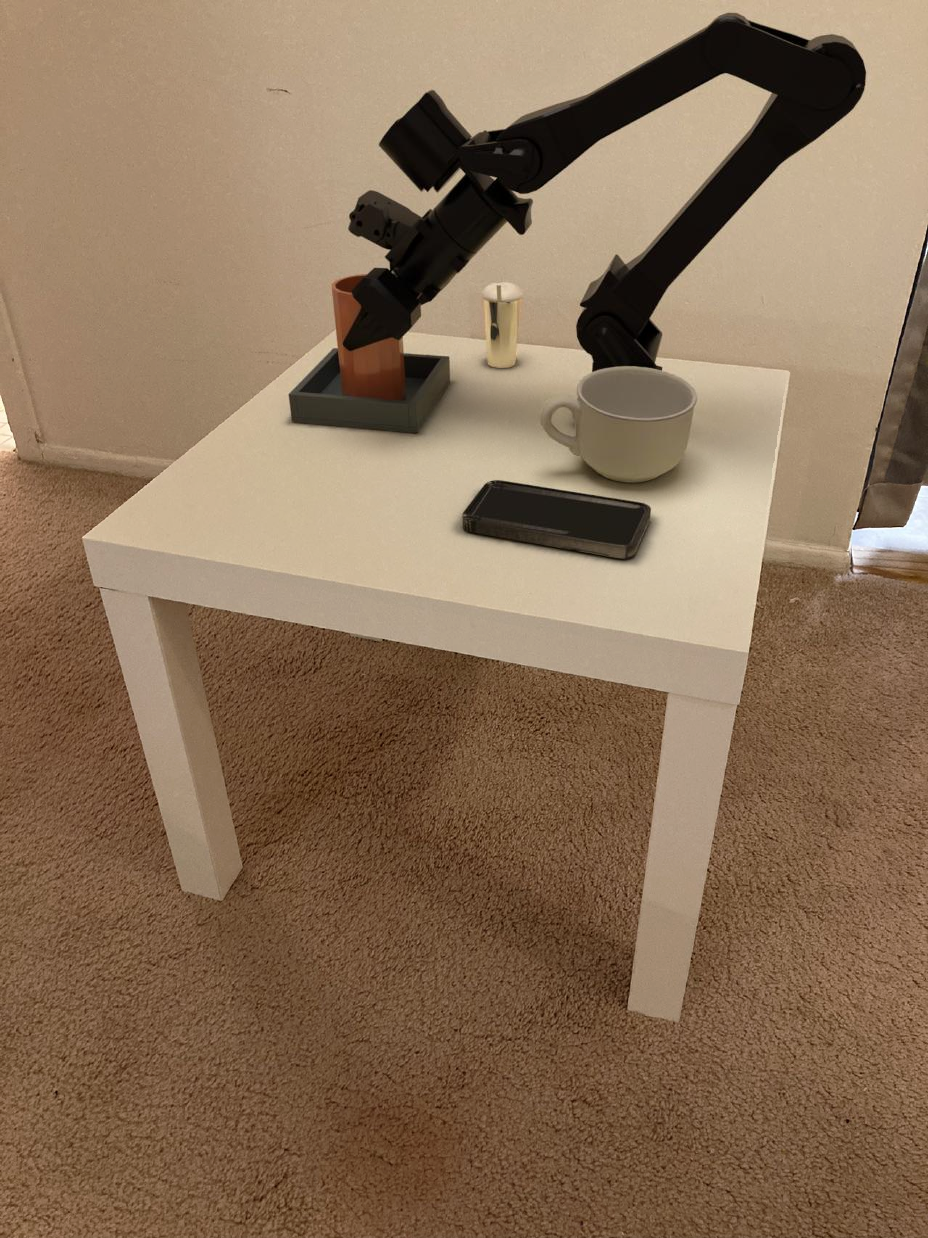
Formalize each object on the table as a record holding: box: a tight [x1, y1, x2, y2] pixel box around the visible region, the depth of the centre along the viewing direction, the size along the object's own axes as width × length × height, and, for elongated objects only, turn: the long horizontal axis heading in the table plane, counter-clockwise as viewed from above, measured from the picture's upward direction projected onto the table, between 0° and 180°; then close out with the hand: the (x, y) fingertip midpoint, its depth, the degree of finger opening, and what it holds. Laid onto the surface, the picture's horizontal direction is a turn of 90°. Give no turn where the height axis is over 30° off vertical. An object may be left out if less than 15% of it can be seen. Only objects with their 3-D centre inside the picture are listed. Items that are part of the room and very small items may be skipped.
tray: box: [288, 347, 451, 434], centre depth 106 cm, size 14×14×3 cm
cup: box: [331, 273, 406, 400], centre depth 103 cm, size 7×7×12 cm
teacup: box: [539, 366, 698, 484], centre depth 91 cm, size 14×11×8 cm
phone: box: [462, 479, 652, 559], centre depth 84 cm, size 8×1×15 cm
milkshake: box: [481, 281, 523, 369], centre depth 112 cm, size 4×5×10 cm
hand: (357, 335), depth 103 cm, fingers closed on cup, 7 cm apart
